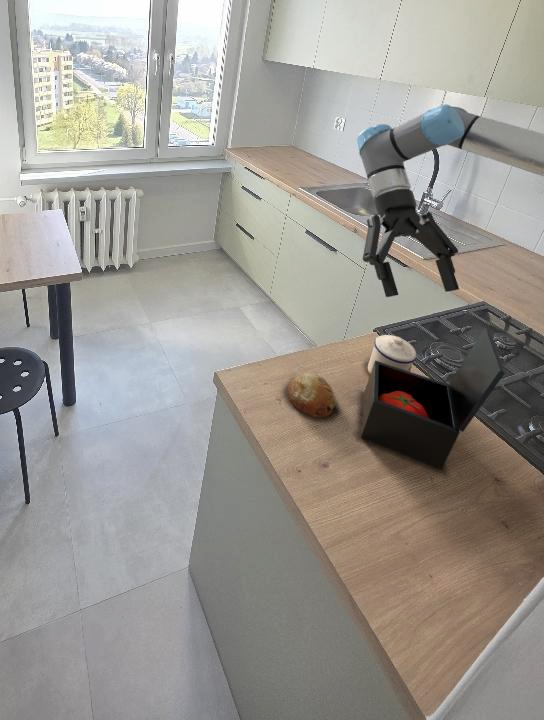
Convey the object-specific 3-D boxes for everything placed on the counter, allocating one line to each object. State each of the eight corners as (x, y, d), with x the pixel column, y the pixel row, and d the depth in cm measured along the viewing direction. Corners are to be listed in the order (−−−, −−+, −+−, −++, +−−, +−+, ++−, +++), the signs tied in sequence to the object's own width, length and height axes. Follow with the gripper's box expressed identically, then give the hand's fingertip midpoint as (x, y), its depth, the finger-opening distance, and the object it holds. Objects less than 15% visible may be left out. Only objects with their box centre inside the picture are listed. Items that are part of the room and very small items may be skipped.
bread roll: (309, 392, 103) (302, 362, 102) (347, 406, 94) (341, 372, 94) (283, 412, 97) (276, 379, 97) (321, 428, 89) (314, 392, 88)
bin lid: (499, 370, 70) (505, 372, 70) (485, 327, 80) (489, 328, 80) (458, 429, 77) (463, 432, 77) (449, 382, 87) (453, 384, 87)
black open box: (360, 439, 87) (373, 401, 83) (362, 396, 98) (375, 360, 93) (440, 472, 82) (459, 432, 77) (434, 422, 92) (451, 385, 87)
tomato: (427, 454, 84) (441, 426, 81) (373, 440, 87) (383, 412, 83) (415, 416, 92) (427, 389, 89) (365, 404, 95) (375, 377, 91)
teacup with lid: (408, 395, 99) (422, 357, 94) (366, 381, 102) (378, 344, 97) (403, 361, 109) (416, 325, 104) (365, 350, 112) (376, 315, 107)
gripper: (429, 198, 95) (461, 291, 88) (329, 202, 91) (354, 301, 84) (456, 185, 88) (492, 285, 81) (349, 189, 84) (378, 295, 77)
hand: (422, 293), depth 82 cm, fingers open, 13 cm apart
